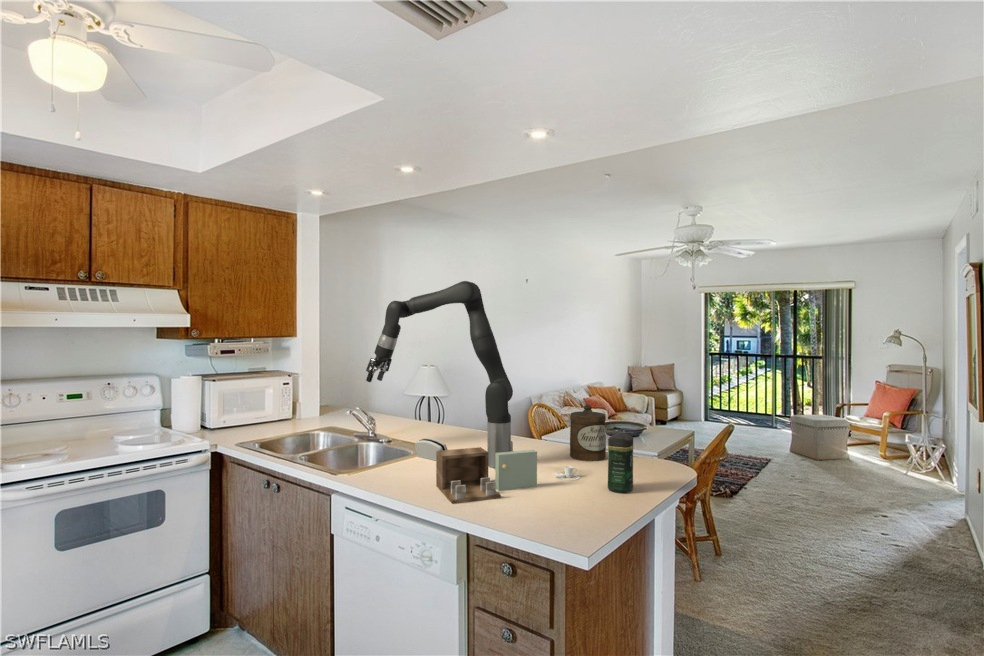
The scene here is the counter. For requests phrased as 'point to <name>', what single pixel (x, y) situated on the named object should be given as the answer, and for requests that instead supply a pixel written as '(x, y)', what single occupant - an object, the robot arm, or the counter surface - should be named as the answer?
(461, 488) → the cabinet
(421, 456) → the grey rounded block
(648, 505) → the counter surface
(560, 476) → the teacup and saucer
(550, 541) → the counter surface
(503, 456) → the door
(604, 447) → the wooden container
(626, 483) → the coffee jar
